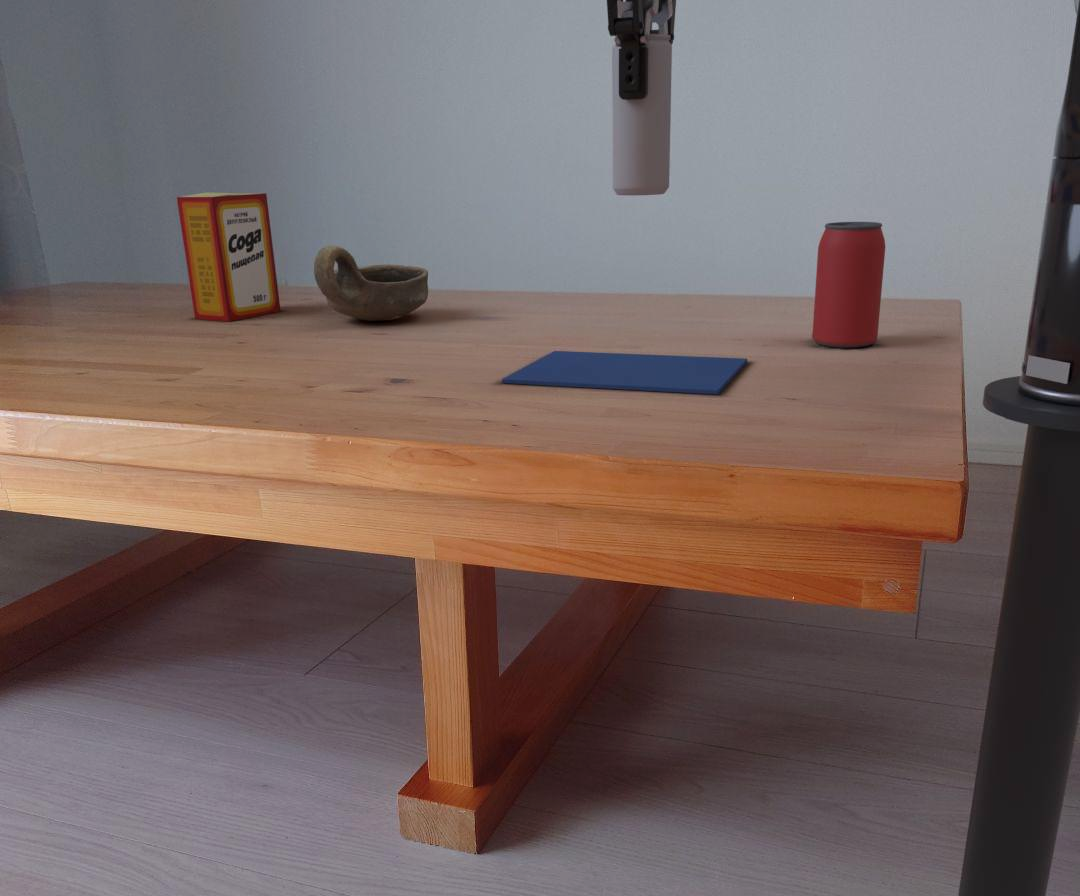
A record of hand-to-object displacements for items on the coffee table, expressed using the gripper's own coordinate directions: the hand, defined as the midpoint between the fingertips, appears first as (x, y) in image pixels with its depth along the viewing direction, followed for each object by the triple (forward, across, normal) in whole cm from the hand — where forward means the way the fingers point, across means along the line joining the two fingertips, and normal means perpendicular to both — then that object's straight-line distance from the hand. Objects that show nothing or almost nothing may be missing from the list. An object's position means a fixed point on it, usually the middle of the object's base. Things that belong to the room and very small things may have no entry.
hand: (642, 99), depth 83 cm
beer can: (+24, +23, -16) cm, 36 cm away
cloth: (+24, +4, +2) cm, 24 cm away
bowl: (+24, +27, +43) cm, 56 cm away
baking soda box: (+24, +30, +65) cm, 75 cm away
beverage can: (+8, 0, 0) cm, 8 cm away
